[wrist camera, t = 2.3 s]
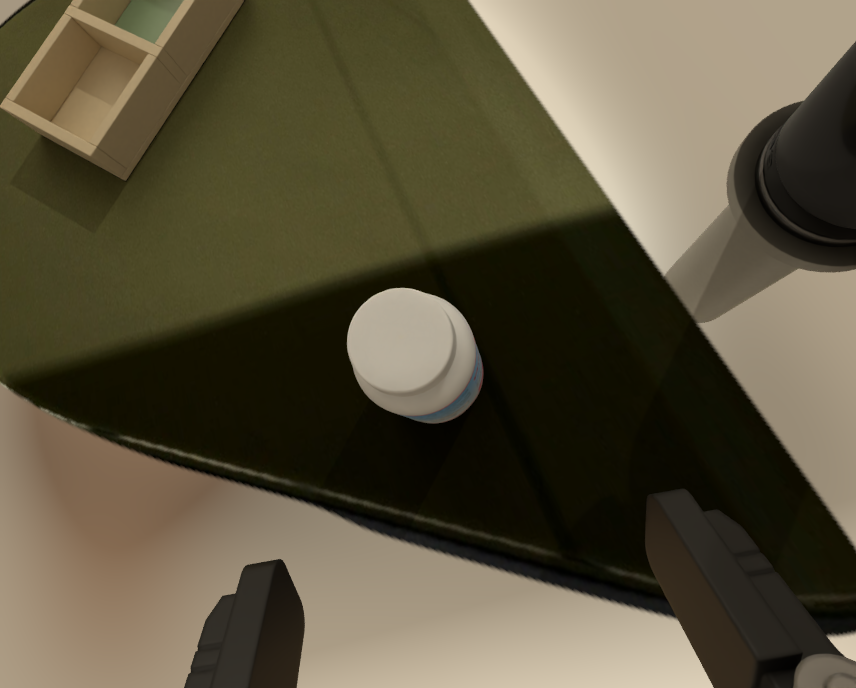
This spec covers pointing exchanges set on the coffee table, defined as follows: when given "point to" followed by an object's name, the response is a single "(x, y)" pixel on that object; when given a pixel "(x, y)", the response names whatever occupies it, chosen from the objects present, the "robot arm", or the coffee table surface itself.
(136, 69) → the holder
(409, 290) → the pill bottle
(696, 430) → the coffee table surface
